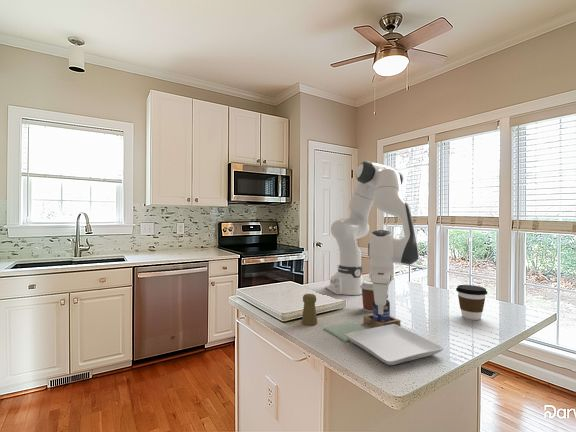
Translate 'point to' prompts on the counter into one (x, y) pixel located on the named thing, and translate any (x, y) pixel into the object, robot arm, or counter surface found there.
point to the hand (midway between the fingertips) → (381, 310)
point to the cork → (309, 310)
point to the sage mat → (344, 329)
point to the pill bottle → (386, 312)
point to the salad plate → (393, 344)
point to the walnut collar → (374, 323)
